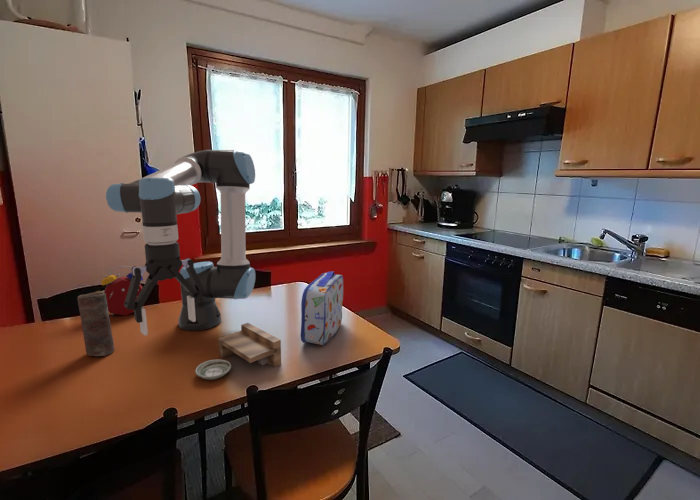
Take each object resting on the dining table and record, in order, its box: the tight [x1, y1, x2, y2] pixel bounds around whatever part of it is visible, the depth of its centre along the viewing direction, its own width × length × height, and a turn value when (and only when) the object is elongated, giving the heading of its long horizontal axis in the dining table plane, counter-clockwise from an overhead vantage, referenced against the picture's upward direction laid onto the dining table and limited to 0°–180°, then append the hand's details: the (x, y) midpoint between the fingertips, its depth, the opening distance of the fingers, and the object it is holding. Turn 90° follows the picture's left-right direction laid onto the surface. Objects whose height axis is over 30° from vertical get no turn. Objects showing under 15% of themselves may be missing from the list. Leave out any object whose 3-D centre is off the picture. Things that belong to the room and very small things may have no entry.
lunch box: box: [299, 271, 344, 346], centre depth 131 cm, size 28×10×22 cm, turn 168°
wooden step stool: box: [218, 322, 282, 368], centre depth 113 cm, size 18×10×8 cm, turn 47°
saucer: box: [194, 358, 232, 380], centre depth 105 cm, size 10×10×2 cm
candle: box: [77, 290, 115, 357], centre depth 114 cm, size 8×7×20 cm
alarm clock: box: [100, 265, 144, 317], centre depth 146 cm, size 15×9×20 cm, turn 121°
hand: (169, 326), depth 94 cm, fingers open, 11 cm apart
